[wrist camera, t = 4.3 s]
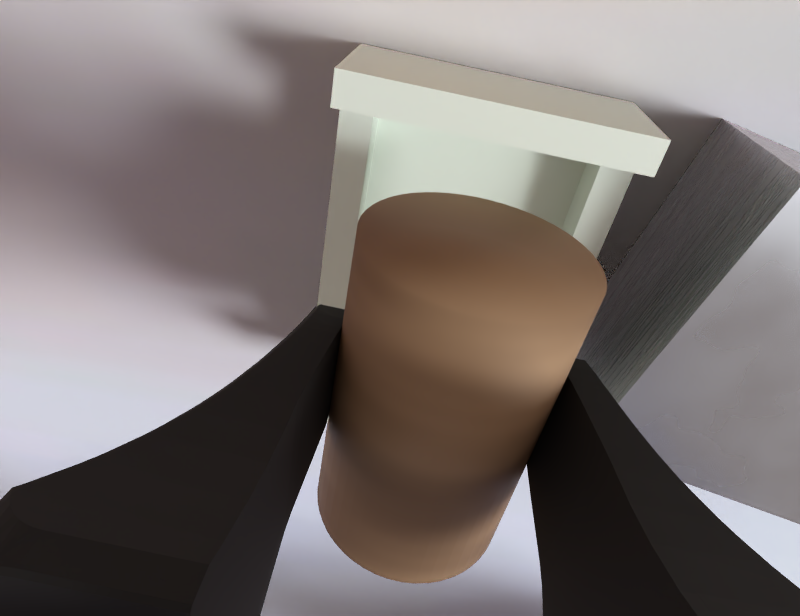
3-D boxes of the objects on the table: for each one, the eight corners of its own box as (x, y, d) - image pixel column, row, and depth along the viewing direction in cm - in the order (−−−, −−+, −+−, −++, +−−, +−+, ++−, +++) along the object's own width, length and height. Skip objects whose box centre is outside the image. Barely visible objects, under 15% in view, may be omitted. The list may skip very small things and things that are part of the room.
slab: (741, 413, 19) (806, 526, 16) (560, 344, 19) (582, 445, 15) (946, 217, 15) (1103, 308, 11) (719, 116, 14) (806, 179, 10)
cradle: (516, 392, 20) (523, 462, 17) (321, 350, 20) (297, 415, 17) (633, 102, 14) (671, 140, 11) (361, 43, 14) (334, 67, 11)
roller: (490, 443, 16) (502, 599, 12) (334, 415, 15) (299, 564, 12) (579, 217, 12) (638, 347, 8) (372, 176, 11) (336, 289, 8)
